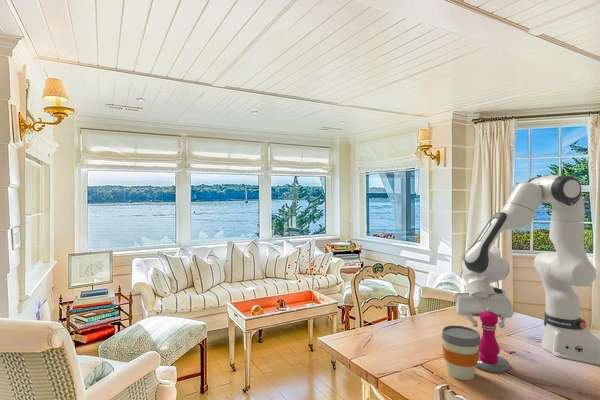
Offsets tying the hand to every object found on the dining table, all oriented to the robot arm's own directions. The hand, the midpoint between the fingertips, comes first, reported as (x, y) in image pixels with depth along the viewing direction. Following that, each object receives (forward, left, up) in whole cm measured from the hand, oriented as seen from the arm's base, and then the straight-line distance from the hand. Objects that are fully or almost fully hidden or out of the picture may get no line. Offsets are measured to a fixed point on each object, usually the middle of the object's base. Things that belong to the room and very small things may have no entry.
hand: (488, 326), depth 133 cm
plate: (0, 0, -14) cm, 14 cm away
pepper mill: (0, 0, -13) cm, 13 cm away
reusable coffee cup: (+5, +14, -14) cm, 21 cm away
